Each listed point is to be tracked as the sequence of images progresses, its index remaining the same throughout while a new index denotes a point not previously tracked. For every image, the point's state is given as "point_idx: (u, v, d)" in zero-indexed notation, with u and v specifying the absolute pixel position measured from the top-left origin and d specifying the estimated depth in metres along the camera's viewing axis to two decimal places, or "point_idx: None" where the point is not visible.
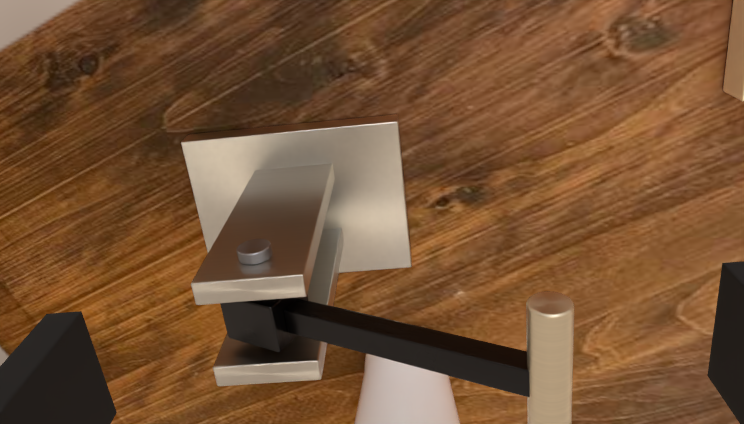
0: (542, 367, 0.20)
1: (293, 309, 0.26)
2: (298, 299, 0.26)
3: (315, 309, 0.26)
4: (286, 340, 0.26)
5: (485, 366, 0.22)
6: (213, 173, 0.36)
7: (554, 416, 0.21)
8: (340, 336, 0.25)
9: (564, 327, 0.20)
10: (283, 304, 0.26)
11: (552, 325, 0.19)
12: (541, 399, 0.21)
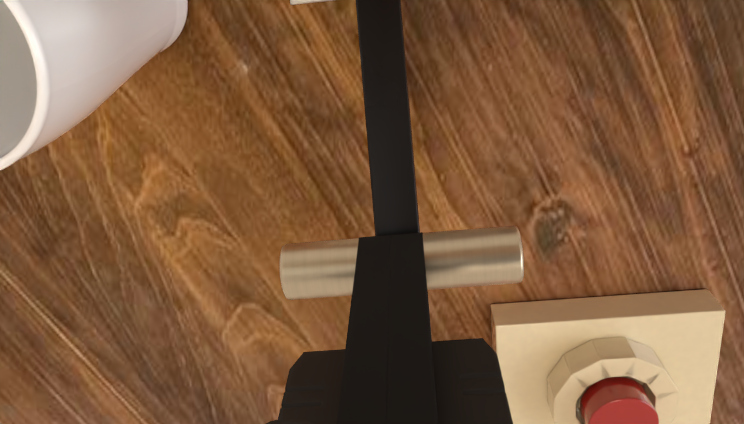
0: (440, 261, 0.16)
1: None
2: None
3: None
4: None
5: (404, 182, 0.16)
6: None
7: None
8: None
9: (502, 280, 0.16)
10: None
11: (508, 267, 0.15)
12: None
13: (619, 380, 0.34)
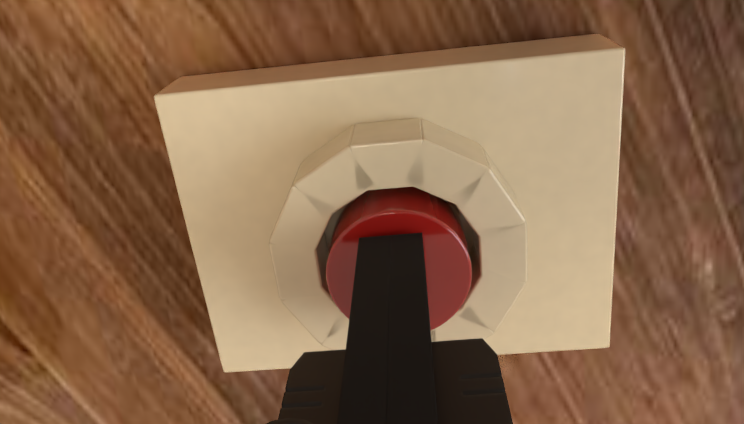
0: None
1: None
2: None
3: None
4: None
5: None
6: None
7: None
8: None
9: None
10: None
11: None
12: None
13: None
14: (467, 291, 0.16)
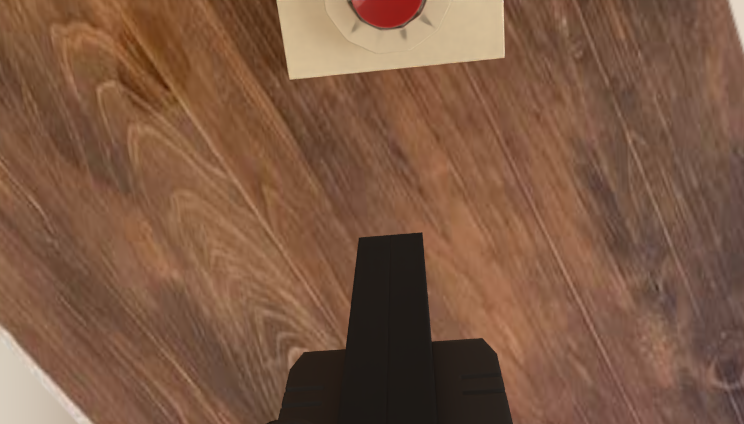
0: None
1: None
2: None
3: None
4: None
5: None
6: None
7: None
8: None
9: None
10: None
11: None
12: None
13: None
14: None
